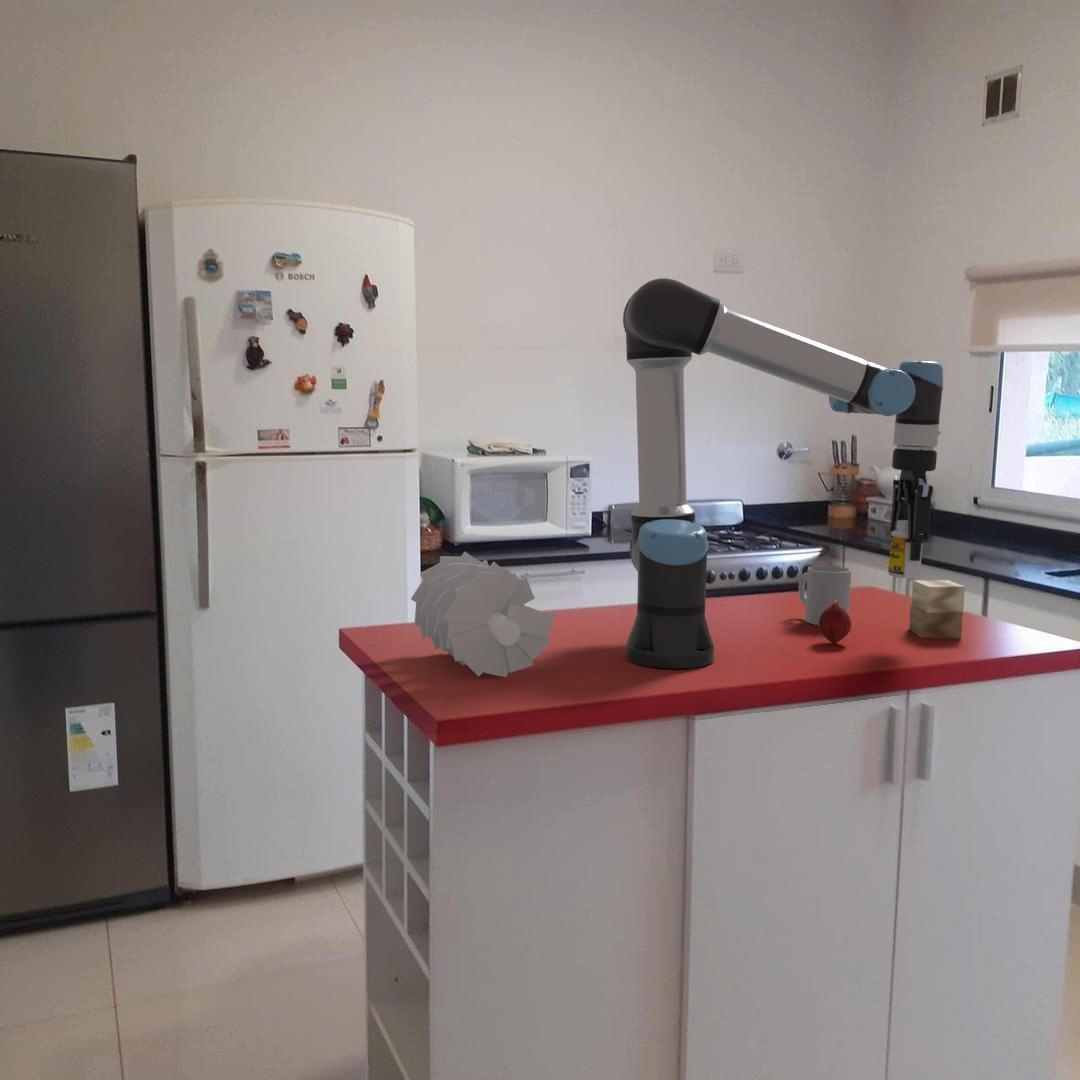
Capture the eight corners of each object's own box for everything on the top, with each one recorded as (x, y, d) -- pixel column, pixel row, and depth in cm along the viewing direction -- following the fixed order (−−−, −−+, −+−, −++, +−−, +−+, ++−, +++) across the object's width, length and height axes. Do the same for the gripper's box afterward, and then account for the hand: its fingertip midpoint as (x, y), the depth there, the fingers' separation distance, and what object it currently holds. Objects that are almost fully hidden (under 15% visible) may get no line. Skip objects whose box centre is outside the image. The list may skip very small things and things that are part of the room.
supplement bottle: (883, 573, 203) (888, 518, 202) (912, 574, 203) (917, 519, 202) (894, 578, 197) (899, 522, 196) (924, 579, 198) (929, 523, 196)
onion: (851, 648, 198) (853, 604, 197) (818, 646, 199) (820, 603, 198) (849, 641, 204) (851, 598, 203) (817, 639, 205) (819, 597, 204)
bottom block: (921, 638, 207) (922, 612, 207) (909, 630, 215) (910, 604, 214) (961, 639, 207) (962, 613, 207) (947, 630, 215) (949, 605, 214)
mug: (858, 624, 219) (860, 570, 217) (827, 628, 214) (830, 573, 213) (813, 613, 229) (815, 561, 227) (783, 617, 224) (785, 565, 223)
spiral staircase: (480, 708, 172) (430, 664, 195) (573, 653, 178) (513, 616, 200) (434, 610, 166) (387, 576, 189) (532, 556, 171) (475, 529, 194)
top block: (927, 612, 207) (929, 586, 206) (911, 605, 213) (913, 580, 213) (963, 612, 207) (964, 586, 207) (946, 605, 214) (947, 580, 213)
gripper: (956, 451, 188) (945, 584, 191) (917, 446, 206) (907, 567, 210) (913, 450, 188) (902, 583, 191) (877, 444, 206) (868, 566, 209)
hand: (905, 574), depth 200 cm, fingers closed on supplement bottle, 6 cm apart
